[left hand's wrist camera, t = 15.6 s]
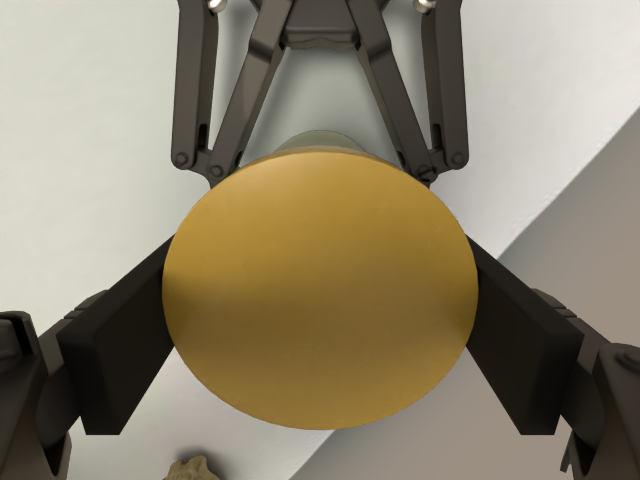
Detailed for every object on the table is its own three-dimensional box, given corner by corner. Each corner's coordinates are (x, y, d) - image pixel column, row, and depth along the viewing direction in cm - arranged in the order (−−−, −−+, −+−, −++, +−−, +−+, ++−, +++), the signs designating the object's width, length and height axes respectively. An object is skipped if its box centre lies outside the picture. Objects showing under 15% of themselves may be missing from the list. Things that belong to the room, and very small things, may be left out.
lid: (453, 121, 10) (479, 122, 8) (460, 376, 13) (479, 412, 12) (144, 171, 11) (113, 182, 9) (222, 406, 14) (209, 445, 12)
